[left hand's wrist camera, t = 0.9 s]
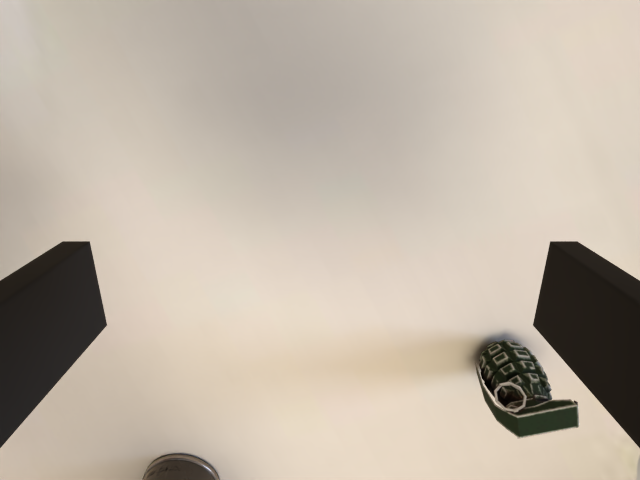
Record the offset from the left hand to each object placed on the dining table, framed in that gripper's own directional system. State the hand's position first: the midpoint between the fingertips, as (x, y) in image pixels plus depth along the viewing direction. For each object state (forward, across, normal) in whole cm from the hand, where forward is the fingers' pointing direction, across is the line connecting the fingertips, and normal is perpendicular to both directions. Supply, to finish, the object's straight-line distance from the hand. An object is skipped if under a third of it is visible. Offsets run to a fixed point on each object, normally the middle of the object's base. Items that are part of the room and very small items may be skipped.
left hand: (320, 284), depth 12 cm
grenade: (+28, +19, -22) cm, 41 cm away
